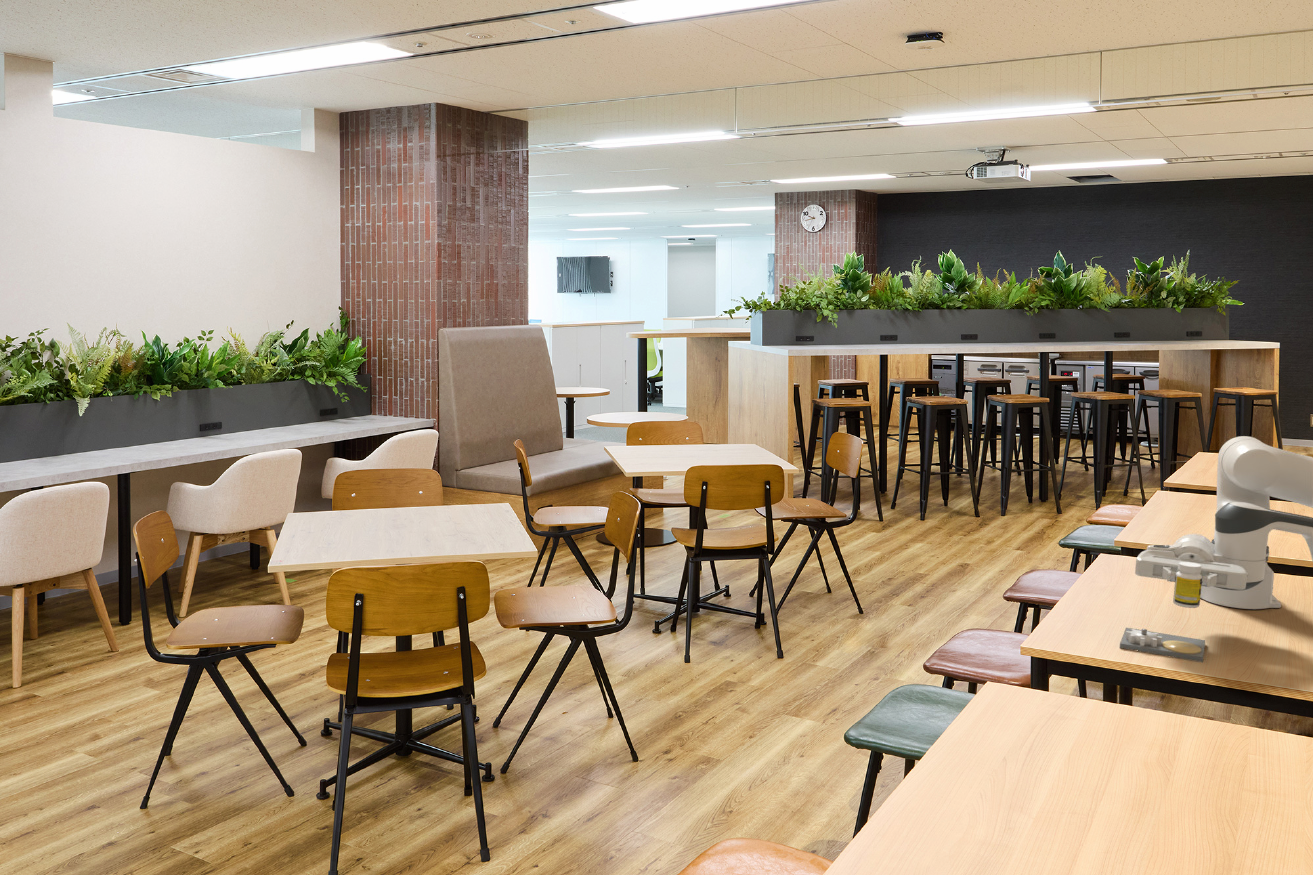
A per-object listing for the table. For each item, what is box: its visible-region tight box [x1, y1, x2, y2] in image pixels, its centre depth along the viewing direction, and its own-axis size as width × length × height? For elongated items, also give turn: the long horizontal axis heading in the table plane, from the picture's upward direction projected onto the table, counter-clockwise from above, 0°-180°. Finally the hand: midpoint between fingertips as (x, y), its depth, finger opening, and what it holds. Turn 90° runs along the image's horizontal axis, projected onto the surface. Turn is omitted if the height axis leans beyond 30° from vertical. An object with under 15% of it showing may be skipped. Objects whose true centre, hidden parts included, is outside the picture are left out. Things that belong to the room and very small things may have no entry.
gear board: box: [1119, 627, 1206, 663], centre depth 209 cm, size 12×15×4 cm
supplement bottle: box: [1172, 562, 1202, 609], centre depth 203 cm, size 5×5×8 cm
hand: (1188, 580), depth 203 cm, fingers closed on supplement bottle, 5 cm apart
